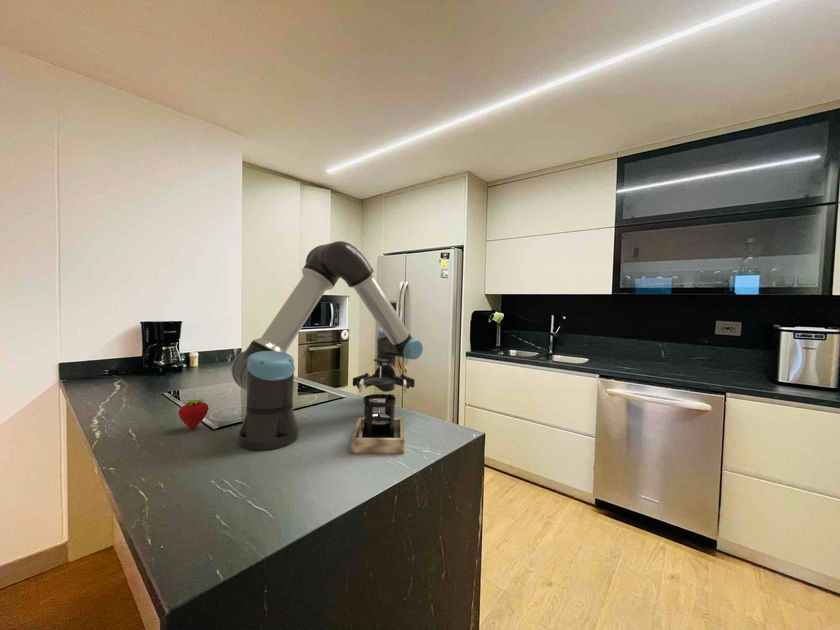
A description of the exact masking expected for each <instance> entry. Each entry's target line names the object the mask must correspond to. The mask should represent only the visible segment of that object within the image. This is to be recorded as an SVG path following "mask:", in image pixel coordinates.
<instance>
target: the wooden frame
mask: <svg viewBox="0 0 840 630" xmlns="http://www.w3.org/2000/svg"><path fill="white" fill-rule="evenodd" d="M363 427H364V417H358V419H357V421H356V424H355V427H354V430H353V433H352V436H351V439H350V454H354V453H355V454H404V453H405V424H404V418H402V417H400V418H399V417H394V429H395V432H399V437H394V438H362V437H360V436H361V434H362V429H363Z"/></svg>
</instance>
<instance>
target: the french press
mask: <svg viewBox="0 0 840 630" xmlns="http://www.w3.org/2000/svg"><path fill="white" fill-rule="evenodd" d="M373 361H374V362H377V361H378V362H379V366H380V377H377V378H368V379H365V380H364V383H365V386H364V388H365V389H367V388H368V387H372V386H374V387H376V388H377V389H379V390H378V393H376V394H375V393H374V394H369V395H368V394H367V395H366V396H364V397H363V399H362V401H363V402H362V404H363V405H364V415H363V416H364V417H363V418H364V427H363V429H362V430H361V438H395V432H396V431H395V429H394V418H395V405H396V401H397V400H396V399H397V398H396V397H395V394H391V393H388V394H386V393H387V392H392V391H394V390H395V389H396V388H395V383H396V380H394V379H391V378H382V377H381V366H382V364H383V362H386V361H388V359H384V358H377V357H376V358H374V359H373ZM381 391H382V392H384V394H383V393H381ZM375 399H376V400H377V399H378V402H374V401H370V400H375ZM381 399H384V400H385V401H384V402H381ZM374 408H376V409H378V412H376V413H375V412H373V411H374ZM381 408H384V413H381V412H380V411H381Z"/></svg>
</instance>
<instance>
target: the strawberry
mask: <svg viewBox="0 0 840 630" xmlns="http://www.w3.org/2000/svg"><path fill="white" fill-rule="evenodd" d="M194 397H195V395H193V396H192V398H191V399H188V400H187V401H186V402H182V404H181V407H180V408H179V409H178V416H179V419H180V420H181V421H182V423H183V424H184V425H186V426H187V427H188V428H189V429H190V430H194V429H196V428H197V427H198V425H199V424H200V423H201V422H202V421H203V420H204V418H206V416H207V414H208V411H209V408H210V407H209V405H208V404H207V403H206V402H205V400H203V398H201V399H194V400H193V398H194Z"/></svg>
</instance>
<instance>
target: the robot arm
mask: <svg viewBox="0 0 840 630" xmlns="http://www.w3.org/2000/svg"><path fill="white" fill-rule="evenodd" d="M301 272H302V273H301V274H302V277H301V278H300V280H299V282H298V283H297V285H296V286H295V288H294V289H293V291H292V292H291V293H290V294H289V296H288V298H287V299H286V300H285V302H284V304H283V305H282V307H281V308H280V309H279V311H278V312H277V314H276V315H275V316H274V318H273V319H272V321H271V322H270V324H269V326H268V327H266V328H267V329H266V330H265V331H264V333H263V334H262V336H260V338H256V339H255V338H254V339H253V340H252V341H251V342H250V344H249V345H248V346H247V348H246V350H244V351H241V352H240V353H239V354H237V356H236V357H235V358H234V359H233V361H232V363H231V368H230V369H231V376H232V378H233V380H234V382H235V384H236V385H237V386H238V387H240V388H241V389H244V390H245V391H246V410H245V415H244V419H243V421H242V423H241V427H240V429H239V432H238V435H237V444H238V446H239V447H241V448H243V449H246V450H252V451H266V450H267V451H269V450H274V449H280V448H283V447H285V446H288V445H290V444H292V443H294V442H296V441H297V440H298V439H299V435H300V434H299V433H300V428H299V425H298V421H297V419H296V415H295V412H294V409H293V408H294V406H293V404H294V385H295V384H294V381H295V377H294V376H295V369H296V368H295V365H294V363H295V361H294V358H293V356H292V355H290V354H289V353H287V351H288V349H289V348H290V346H292V344H293V342H294V340H295V339H296V338H297V336H298V334H299V332H301V329H302V328H303V326H304V325H305V323H306V322H307V320H308V319H309V317H310V315H311V314H312V312H313V311H314V309H315V308H316V306H317V305H318V303H319V301H320V300H321V298H322V297H323V296H324V294H325V293H326V292H327V291H331V290H333V289H334V287H335V285H336V283H337V282H338V281H339V280H340V279H342V280H343V281H344V282H345V283H346V285H348V287H349V288H352V289H354V290H355V292H356V294H357V295H358V296H359V298H360V299H361V301H362V302H363V304H364V306H365V307H366V308H367V310H368V311H369V313H370V314H371V316H372V317H373V318H374V320H375V322H376V323H377V325H378V326H379V327H380V329H381V330H378V332H377V339H376V341H377V342H376V344H377V345H376V359H377V358H384V359H388V361H386V362H383V364H382V366H381V377H382V378H391V379H394V380H396V383H395V385H397V386H399V387H402V389H403V394H407V389H408V390H409V389H410V387H411V388H415V381H416V380H415V379H414V378H412V377H410V376H406V374H403V373H400V374H399V375H398V376H397V375H396V368H397V367H396V363H397V362H396V358H397V357H398V358H402V359H405V360H415V361H416V360H418V358H420V357H421V356H422V354H423V350H424V346H423V344H422V343H423V342H421V341H420V339H417V338H415V337H414V338H413V337H412V335H411V334H410V332H409V331H408V329H407V328H406V326H405V325H404V323H403V321H402V319H401V318H400V316H399V315H398V313H397V312H396V310H395V307H393V305H392V303H391V301H389V299H388V297H387V295H386V294H385V292H384V291H383V289H382V287H381V285H380V284H379V283H378V281H377V280H376V278H375V276H374V274H375V270H374V269H373V268H372V266H371V264H370V263H369V261H368V259H367V258H366V257H365V256H364V254H363V253H362V252H361V251H360V250H359V249H358V248H357V247H356V246H354V245H353V244H351V243H349V242H347V241H343V240H342V241H340V240H339V241H333V242H331V243H327V244H320V245H317V246H315V247H314V248H313V249H311V250H310V251H309V252H308V254H307V256H306V259H305V264H304V266H303V267H302V269H301ZM377 377H380V366H379V362H378V361H376V367H375V372H374V373H372V375H370V373H368V372H365V373H364V374H362V375H359V376H355V377H352V387H356V388H357V389H358V393H362V392H363V390H364V388H365V383H364V380H365V379H368V378H377Z"/></svg>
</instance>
